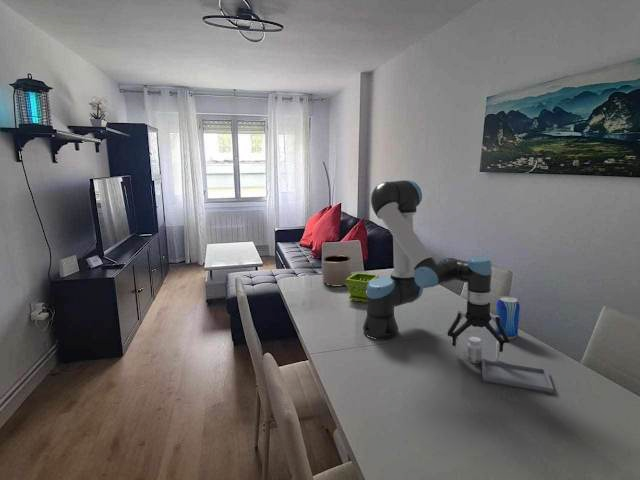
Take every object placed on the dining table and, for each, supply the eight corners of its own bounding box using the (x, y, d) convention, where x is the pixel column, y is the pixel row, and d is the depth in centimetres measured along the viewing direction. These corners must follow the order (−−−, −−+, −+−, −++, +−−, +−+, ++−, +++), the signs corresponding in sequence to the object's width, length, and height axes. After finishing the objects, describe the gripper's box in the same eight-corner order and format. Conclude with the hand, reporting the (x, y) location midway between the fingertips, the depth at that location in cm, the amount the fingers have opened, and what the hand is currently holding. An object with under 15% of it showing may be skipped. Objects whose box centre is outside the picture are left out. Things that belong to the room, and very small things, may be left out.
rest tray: (482, 381, 119) (482, 376, 118) (481, 363, 129) (481, 358, 129) (553, 394, 111) (553, 388, 111) (545, 373, 122) (546, 368, 121)
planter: (321, 287, 218) (320, 262, 214) (325, 278, 235) (324, 254, 232) (350, 287, 215) (349, 262, 211) (352, 278, 232) (352, 255, 229)
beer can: (520, 340, 144) (523, 303, 141) (497, 339, 146) (500, 302, 143) (513, 331, 152) (516, 295, 149) (492, 330, 154) (494, 295, 151)
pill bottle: (480, 358, 133) (481, 337, 131) (481, 364, 128) (482, 343, 127) (466, 356, 134) (467, 335, 133) (467, 362, 130) (468, 341, 128)
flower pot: (379, 297, 198) (379, 275, 195) (369, 305, 186) (368, 282, 184) (357, 293, 205) (356, 271, 202) (345, 301, 194) (344, 278, 191)
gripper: (440, 301, 128) (440, 356, 132) (519, 308, 118) (516, 367, 122) (442, 295, 135) (441, 347, 138) (517, 300, 125) (514, 356, 129)
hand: (476, 356), depth 130 cm, fingers open, 13 cm apart
